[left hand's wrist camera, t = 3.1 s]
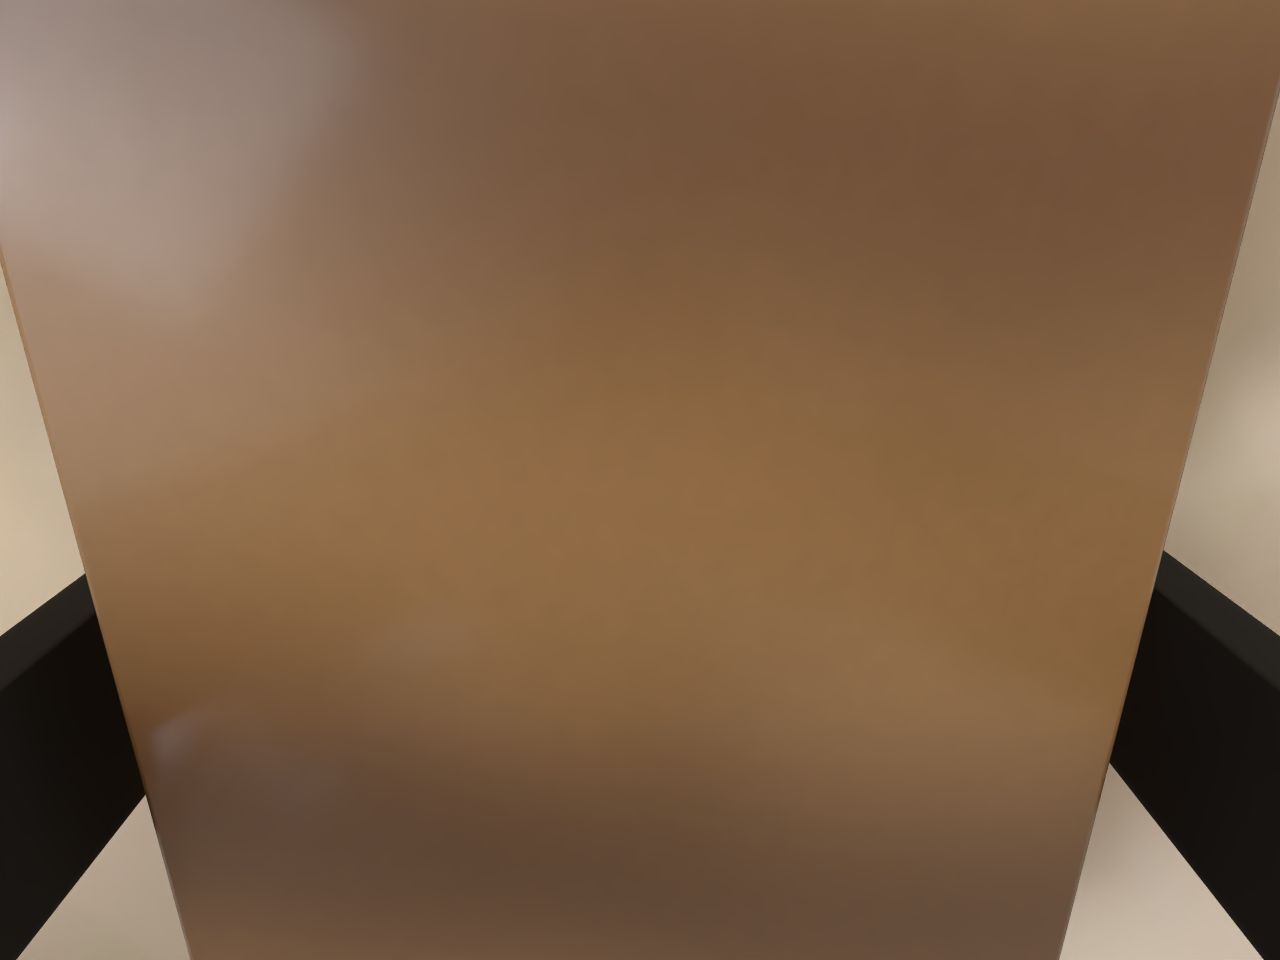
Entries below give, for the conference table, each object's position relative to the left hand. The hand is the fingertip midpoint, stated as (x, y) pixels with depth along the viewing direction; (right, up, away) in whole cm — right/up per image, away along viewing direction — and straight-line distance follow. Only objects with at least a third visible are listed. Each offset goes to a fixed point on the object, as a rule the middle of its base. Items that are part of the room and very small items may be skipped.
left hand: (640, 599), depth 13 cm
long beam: (0, +23, -7) cm, 24 cm away
